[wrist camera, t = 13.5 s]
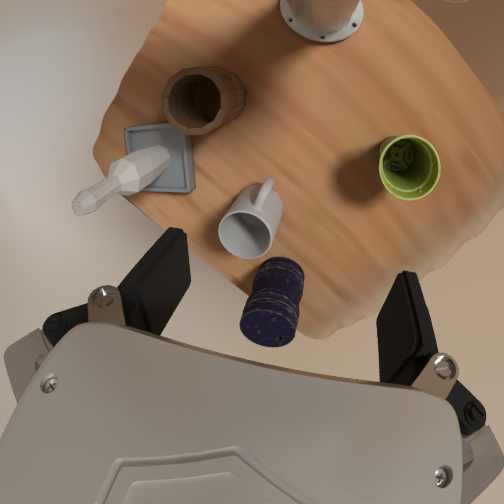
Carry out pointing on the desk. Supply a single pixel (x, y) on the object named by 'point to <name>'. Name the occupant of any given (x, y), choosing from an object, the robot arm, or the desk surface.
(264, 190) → the mug
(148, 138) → the tray
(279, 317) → the storage jar
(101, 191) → the faceted bottle
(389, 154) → the plant pot
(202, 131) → the holder
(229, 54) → the desk surface
